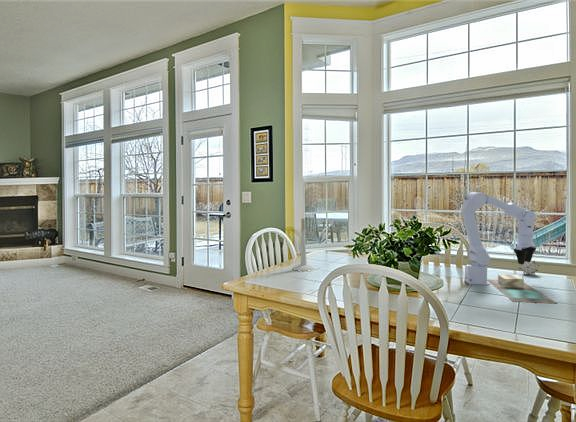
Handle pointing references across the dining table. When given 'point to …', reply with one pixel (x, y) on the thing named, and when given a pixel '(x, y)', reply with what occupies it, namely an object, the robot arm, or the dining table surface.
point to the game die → (529, 267)
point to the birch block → (511, 281)
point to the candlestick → (303, 252)
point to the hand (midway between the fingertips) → (524, 262)
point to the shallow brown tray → (522, 293)
